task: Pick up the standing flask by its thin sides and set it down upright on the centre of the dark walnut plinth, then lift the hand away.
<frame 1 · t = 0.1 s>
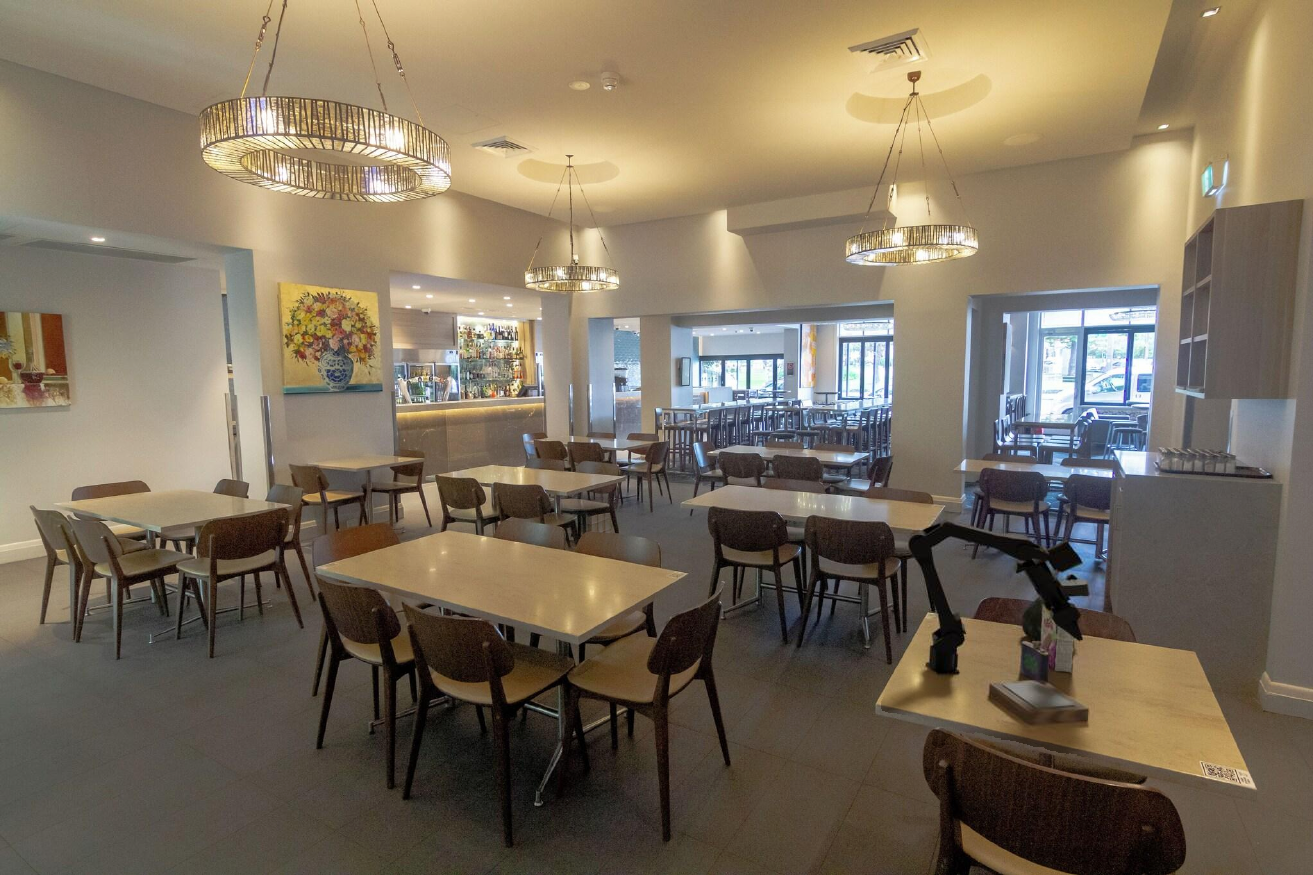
hand: (1076, 633, 169), 15 cm above the table, tool tilted 35°, fingers open, 9 cm apart
candy bar box: (1055, 664, 185), on the table
squash: (1047, 641, 201), on the table
walnut plinth: (1036, 707, 161), on the table
flask: (1033, 680, 175), on the table
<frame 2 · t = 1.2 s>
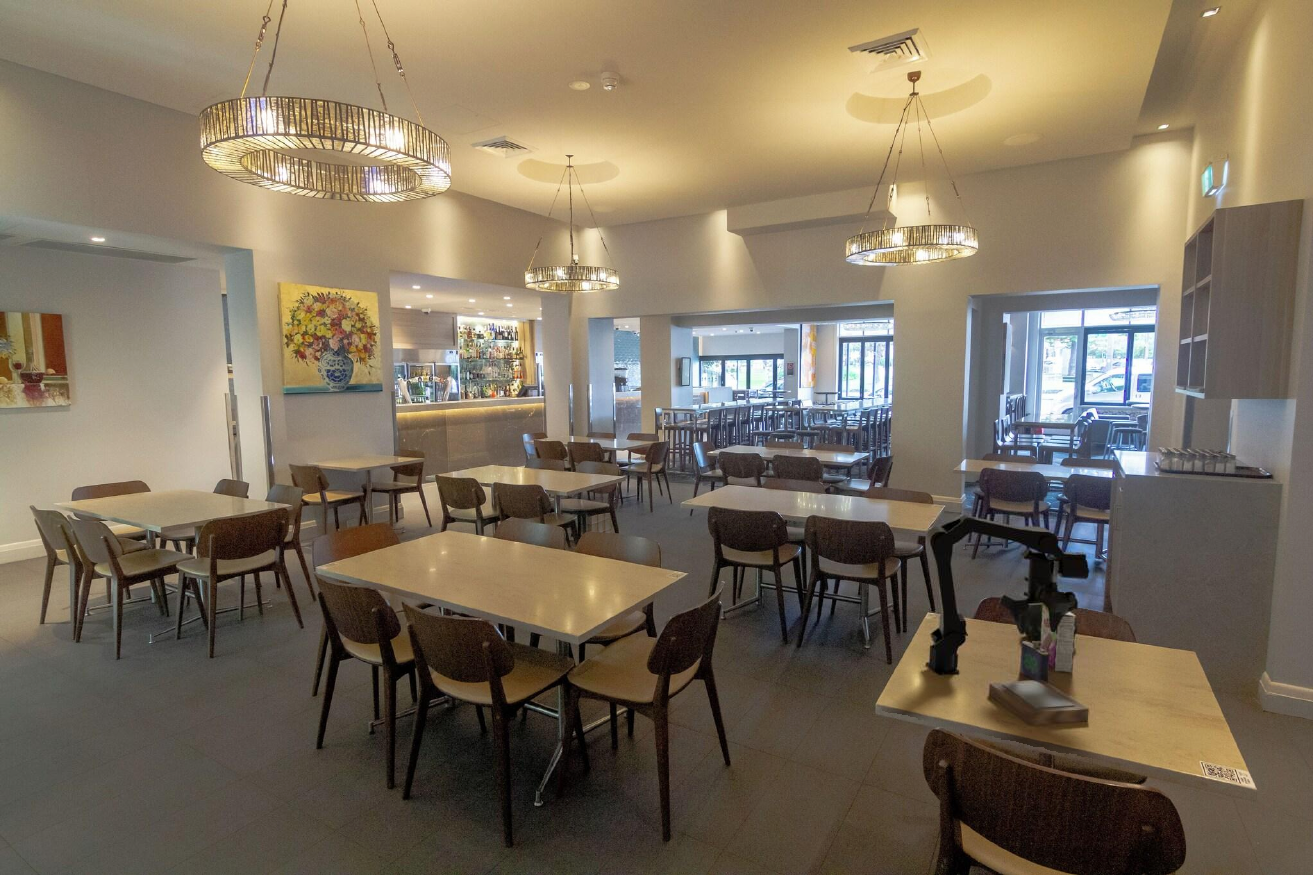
hand: (1037, 632, 174), 13 cm above the table, tool pointing down, fingers open, 9 cm apart
nothing on the table moved.
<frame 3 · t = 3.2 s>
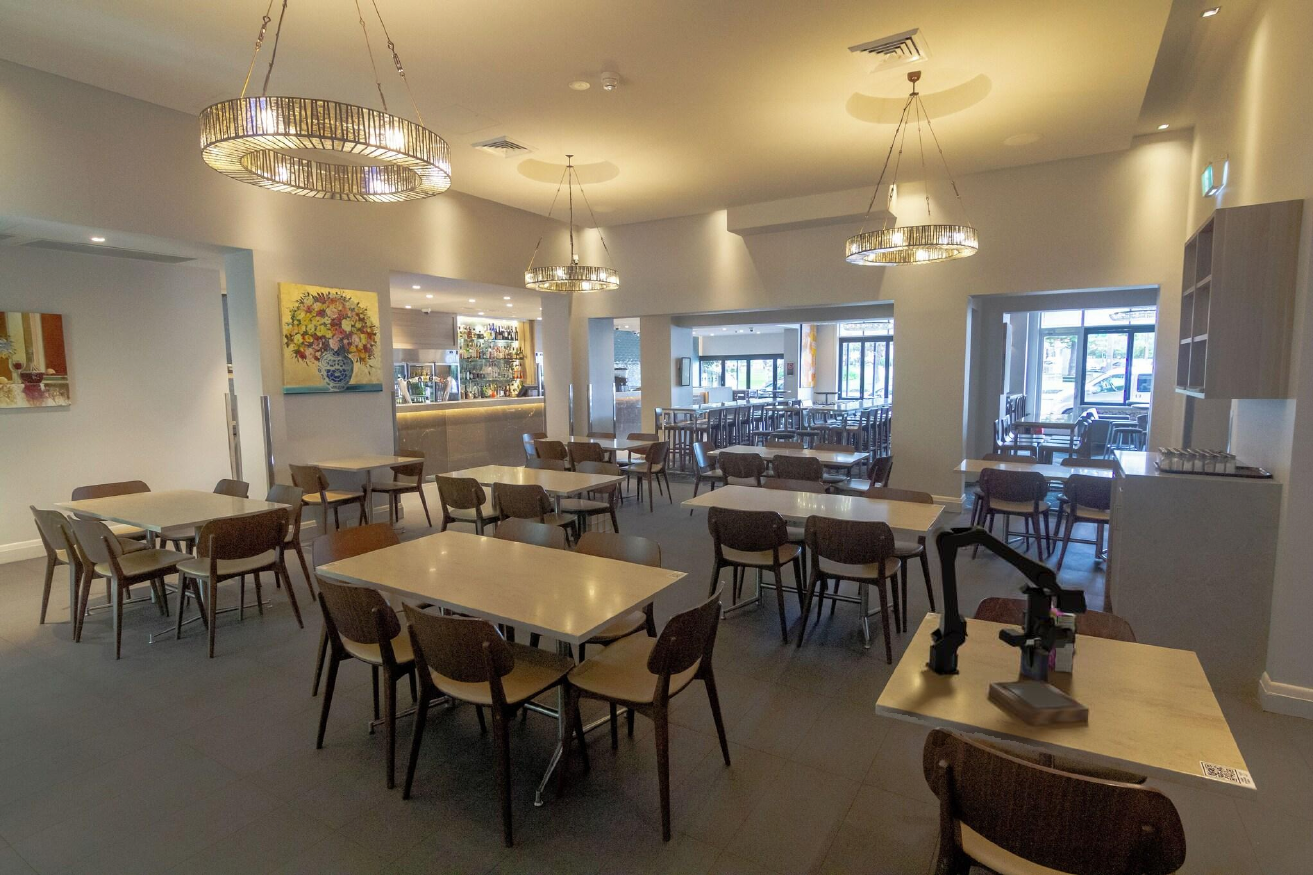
hand: (1034, 666, 175), 4 cm above the table, tool pointing down, fingers closed on flask, 3 cm apart
flask: (1033, 680, 175), on the table, touching gripper
everything else where it was.
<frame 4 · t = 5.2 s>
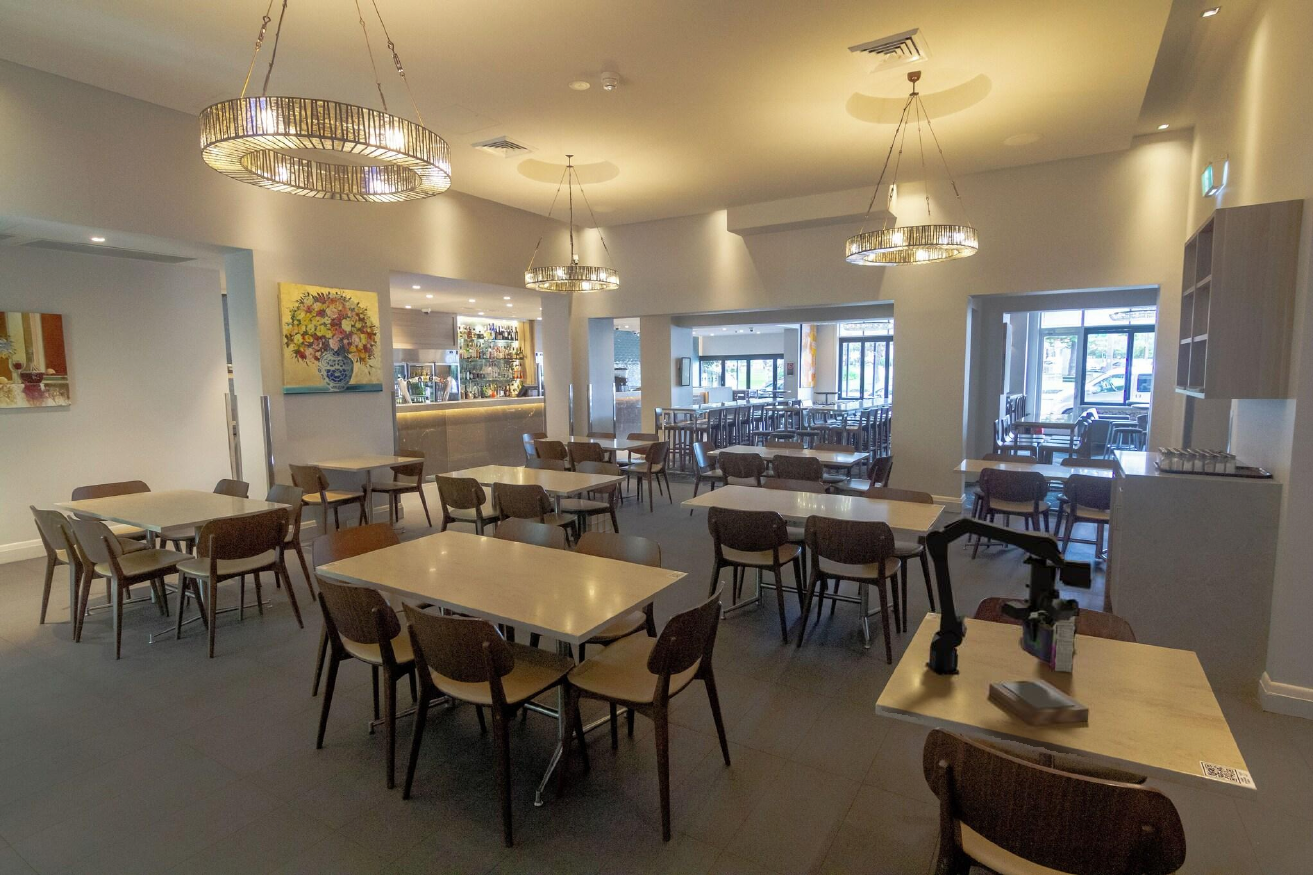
hand: (1038, 641, 169), 13 cm above the table, tool pointing down, fingers closed on flask, 3 cm apart
flask: (1036, 656, 169), point 9 cm above the table, touching gripper
everything else where it was.
when the fingers open (8 cm above the table, at t = 7.5 s): flask stays where it is, resting on walnut plinth.
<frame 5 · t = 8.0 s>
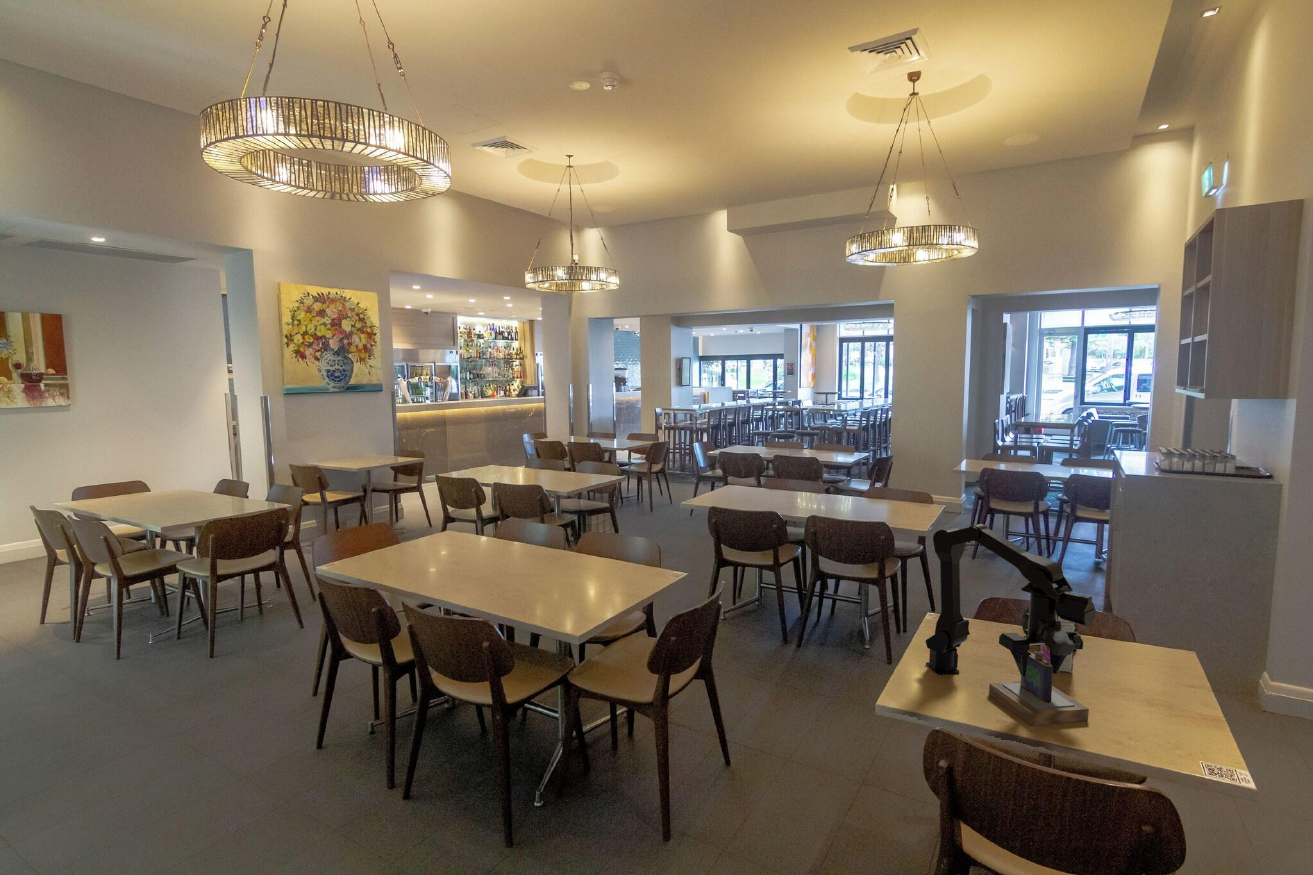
hand: (1038, 674, 160), 8 cm above the table, tool pointing down, fingers open, 8 cm apart
flask: (1035, 694, 161), point 3 cm above the table, touching walnut plinth
everything else where it was.
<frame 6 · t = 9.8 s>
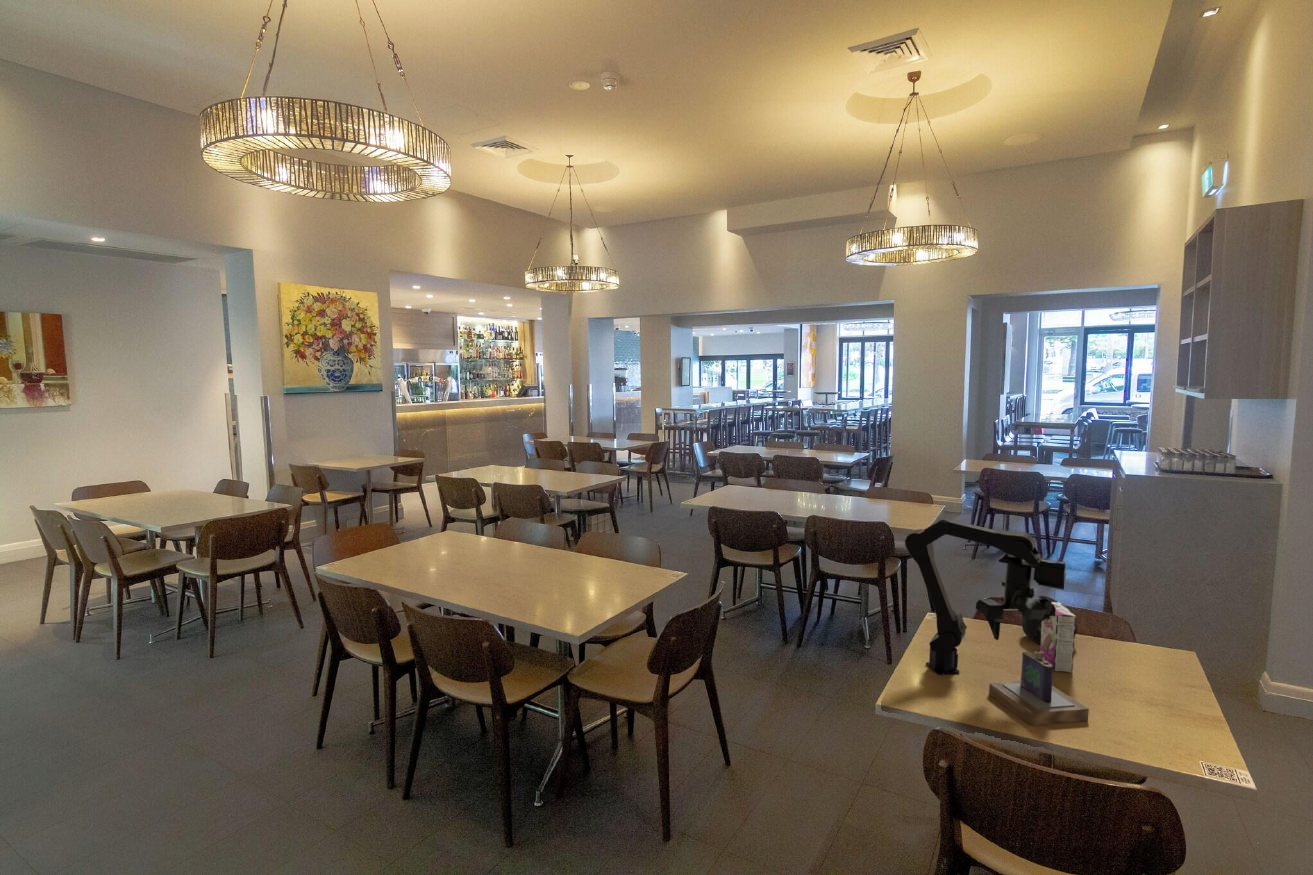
hand: (1012, 639, 171), 13 cm above the table, tool pointing down, fingers open, 9 cm apart
nothing on the table moved.
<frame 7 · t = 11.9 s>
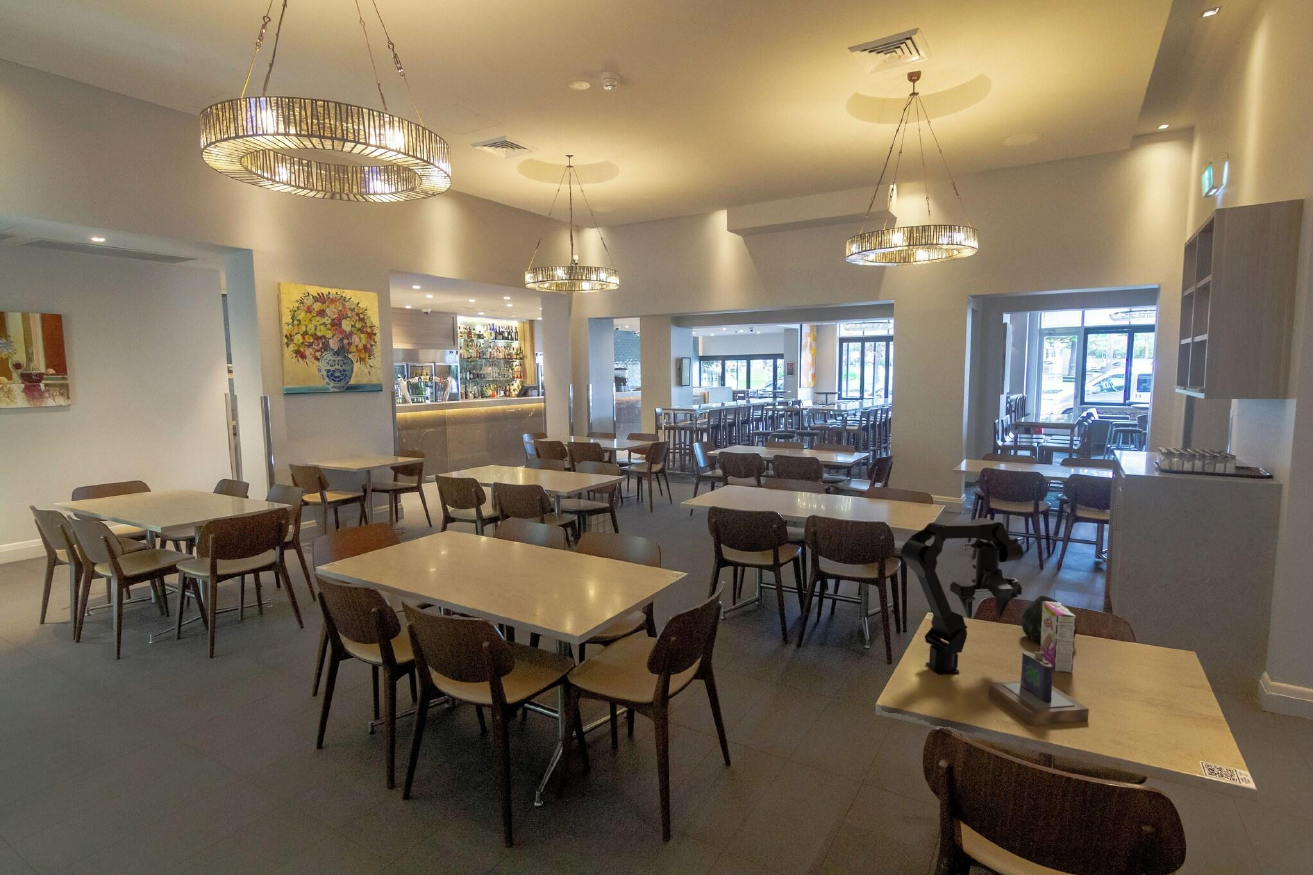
hand: (984, 617, 185), 13 cm above the table, tool pointing down, fingers open, 9 cm apart
nothing on the table moved.
at the end: flask inside the target area on the walnut plinth (0.3 cm from its centre), point 3.1 cm above the walnut plinth's base; flask tilted 0°; the gripper is holding nothing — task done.
